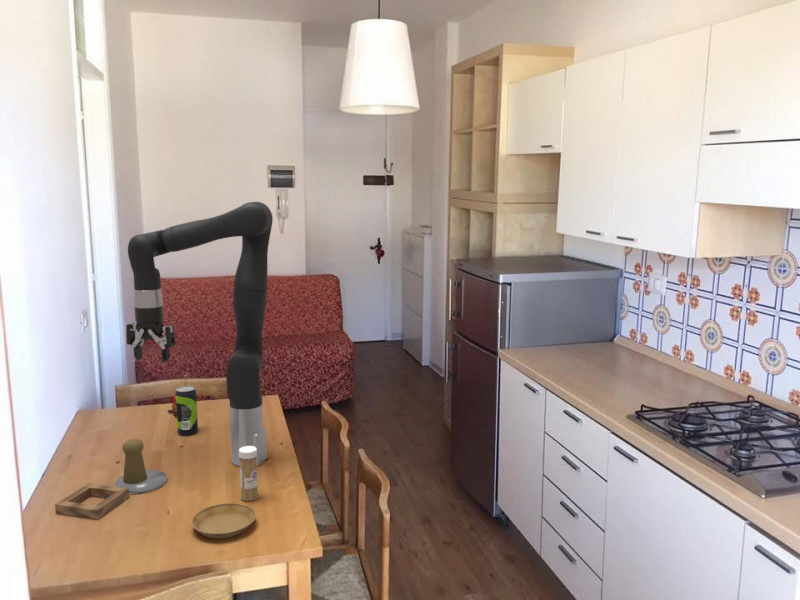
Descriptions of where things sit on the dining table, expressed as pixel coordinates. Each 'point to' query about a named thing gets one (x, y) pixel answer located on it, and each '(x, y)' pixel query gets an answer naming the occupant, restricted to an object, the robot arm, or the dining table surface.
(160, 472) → the slate coaster
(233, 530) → the plant saucer
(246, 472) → the sprinkles bottle
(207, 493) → the dining table surface
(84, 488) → the holder board
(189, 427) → the beverage can
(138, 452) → the cork
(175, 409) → the red clay folk toy
